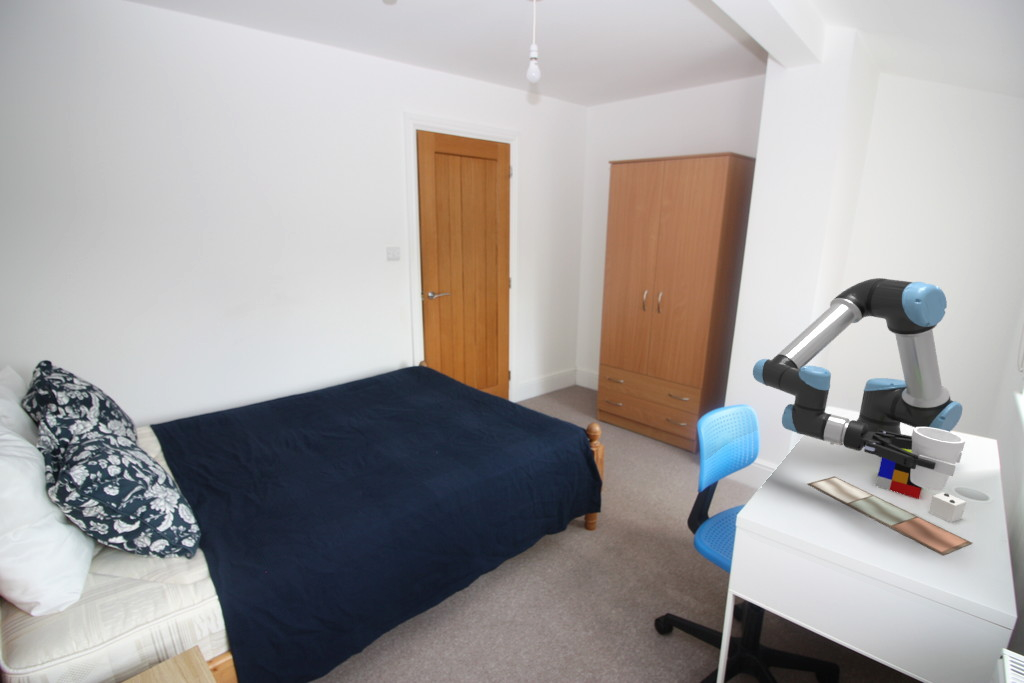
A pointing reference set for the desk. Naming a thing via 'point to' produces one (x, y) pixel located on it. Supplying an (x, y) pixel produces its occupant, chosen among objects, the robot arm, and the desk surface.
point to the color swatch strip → (892, 516)
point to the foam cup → (934, 455)
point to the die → (947, 507)
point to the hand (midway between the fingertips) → (957, 463)
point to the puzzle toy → (897, 478)
